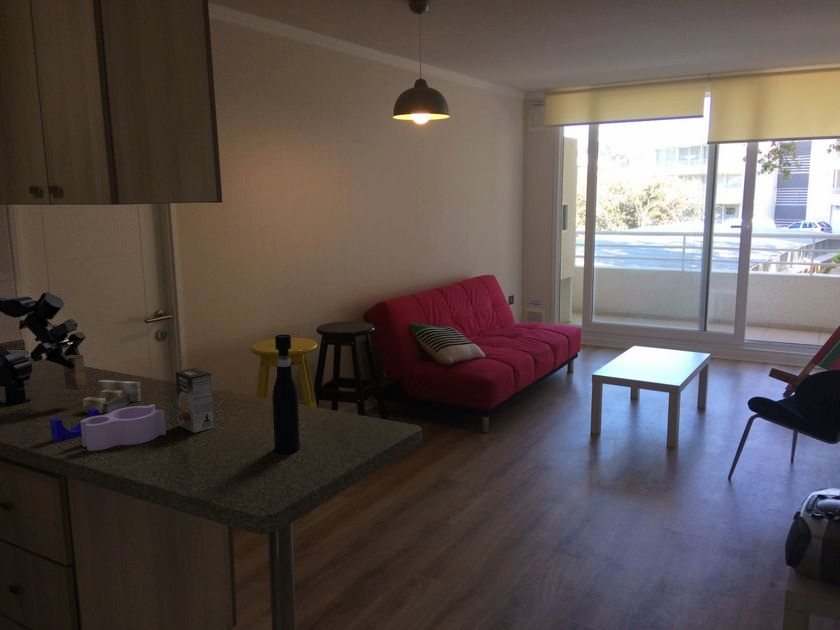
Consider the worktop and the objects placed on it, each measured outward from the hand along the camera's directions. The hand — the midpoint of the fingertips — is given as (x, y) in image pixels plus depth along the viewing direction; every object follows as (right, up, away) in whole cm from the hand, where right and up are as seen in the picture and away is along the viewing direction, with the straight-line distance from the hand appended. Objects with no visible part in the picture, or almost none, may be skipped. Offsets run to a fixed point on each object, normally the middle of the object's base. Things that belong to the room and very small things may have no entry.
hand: (77, 365), depth 211 cm
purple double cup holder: (+26, -18, -26) cm, 41 cm away
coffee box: (+42, -16, -17) cm, 48 cm away
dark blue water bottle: (+72, -19, -34) cm, 82 cm away
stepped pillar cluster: (+8, -13, +2) cm, 15 cm away
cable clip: (+11, -18, -23) cm, 31 cm away
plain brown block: (-1, -7, +2) cm, 7 cm away
